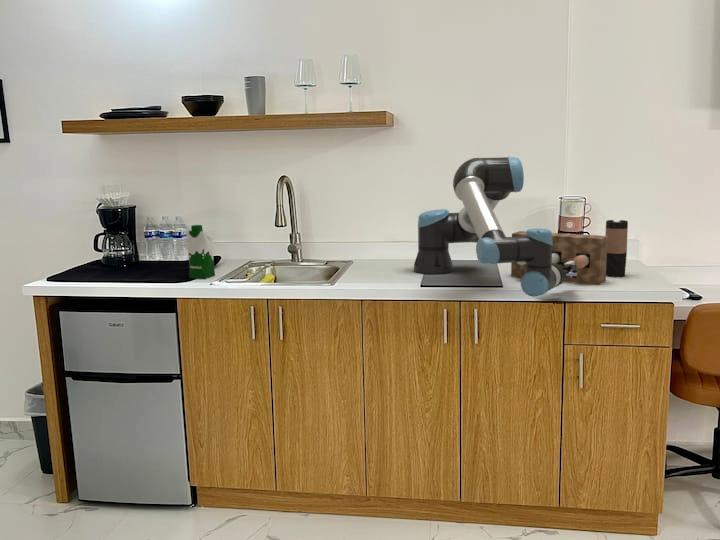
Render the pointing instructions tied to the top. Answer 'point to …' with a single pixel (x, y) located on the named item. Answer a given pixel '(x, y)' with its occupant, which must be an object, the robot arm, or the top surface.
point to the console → (571, 248)
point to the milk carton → (200, 252)
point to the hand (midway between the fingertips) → (572, 264)
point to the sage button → (556, 258)
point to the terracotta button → (582, 260)
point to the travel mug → (616, 247)
